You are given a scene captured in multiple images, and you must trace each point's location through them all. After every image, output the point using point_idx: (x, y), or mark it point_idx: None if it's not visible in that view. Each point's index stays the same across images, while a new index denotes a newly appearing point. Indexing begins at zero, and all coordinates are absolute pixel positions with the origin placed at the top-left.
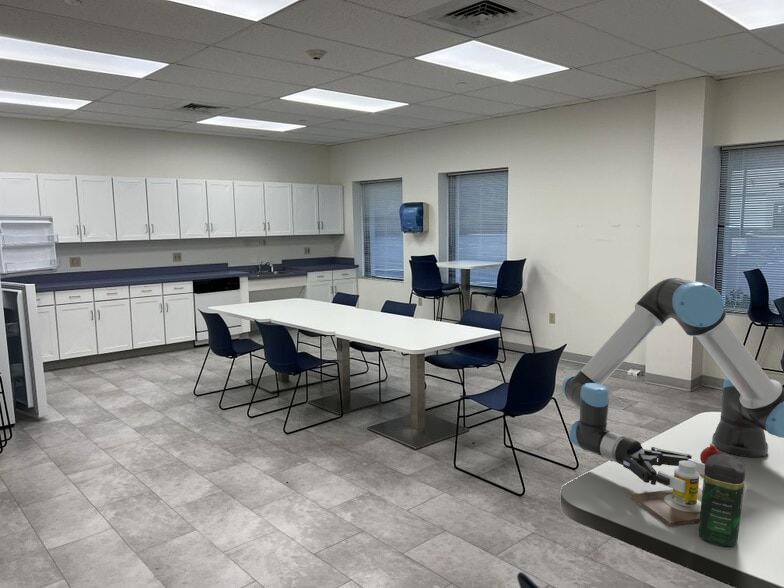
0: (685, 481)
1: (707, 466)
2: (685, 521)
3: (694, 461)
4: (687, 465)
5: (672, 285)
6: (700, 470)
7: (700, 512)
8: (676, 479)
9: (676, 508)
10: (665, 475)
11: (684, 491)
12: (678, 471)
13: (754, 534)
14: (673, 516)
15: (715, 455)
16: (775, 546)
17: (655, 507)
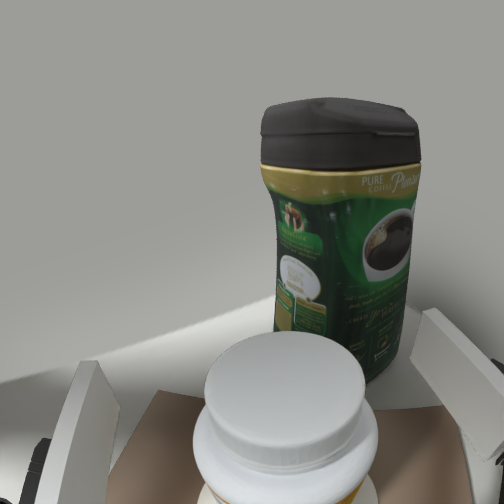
0: (422, 312)
1: (417, 126)
2: (390, 411)
3: (62, 467)
4: (323, 354)
5: None
6: (98, 453)
7: (398, 316)
8: (458, 333)
9: (369, 475)
10: (499, 375)
11: (411, 356)
12: (367, 430)
13: (228, 344)
14: (418, 434)
15: (336, 106)
16: (237, 311)
17: (446, 496)
